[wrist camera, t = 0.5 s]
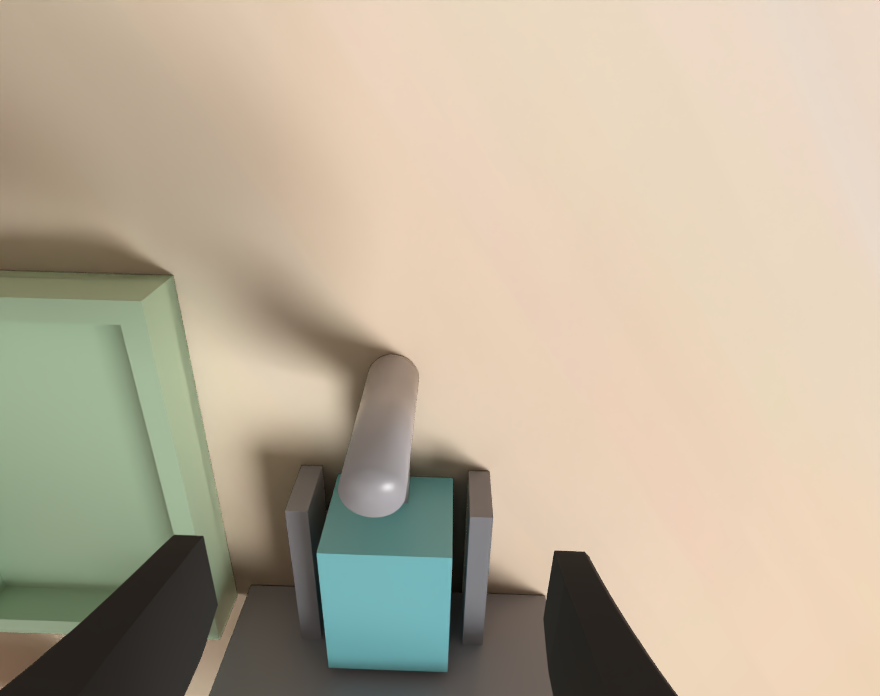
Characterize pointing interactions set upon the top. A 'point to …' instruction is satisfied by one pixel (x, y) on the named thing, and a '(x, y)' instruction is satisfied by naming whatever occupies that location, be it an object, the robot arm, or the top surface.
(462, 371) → the top surface
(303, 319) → the top surface
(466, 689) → the rack
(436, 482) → the cyan and grey piece
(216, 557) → the tray
